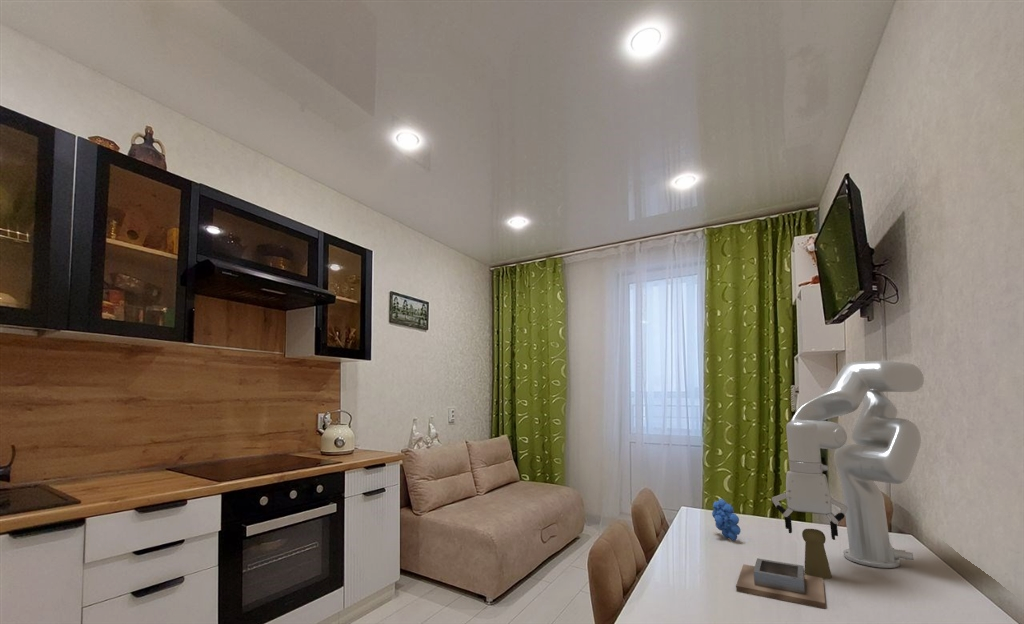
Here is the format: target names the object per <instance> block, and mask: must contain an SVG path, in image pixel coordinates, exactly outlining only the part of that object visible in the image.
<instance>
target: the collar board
mask: <svg viewBox="0 0 1024 624" xmlns="http://www.w3.org/2000/svg"><path fill="white" fill-rule="evenodd" d="M754 567H755V565H748V564H744V563H743V564H742V566H741V571H740V573H739V576H738V579H737V581H736V583H735V584H736V585H735V590H736V592H740V593H744V594H750V595H754V596H759V597H765V598H769V599H770V598H771V599H775V600H779V601H785V602H789V603H794V604H800V605H803V606H804V605H805V606H810V607H814V608H820V609H824V610H825V609H826V598H825V597H826V596H825V588H824V579H823V578H820V577H815V576H809V575H807V574H804V575H805V594H800V593H795V592H790V591H784V590H779V589H774V588H769V587H763V586H758V585H755V584H754V573H753V571H754Z"/></svg>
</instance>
